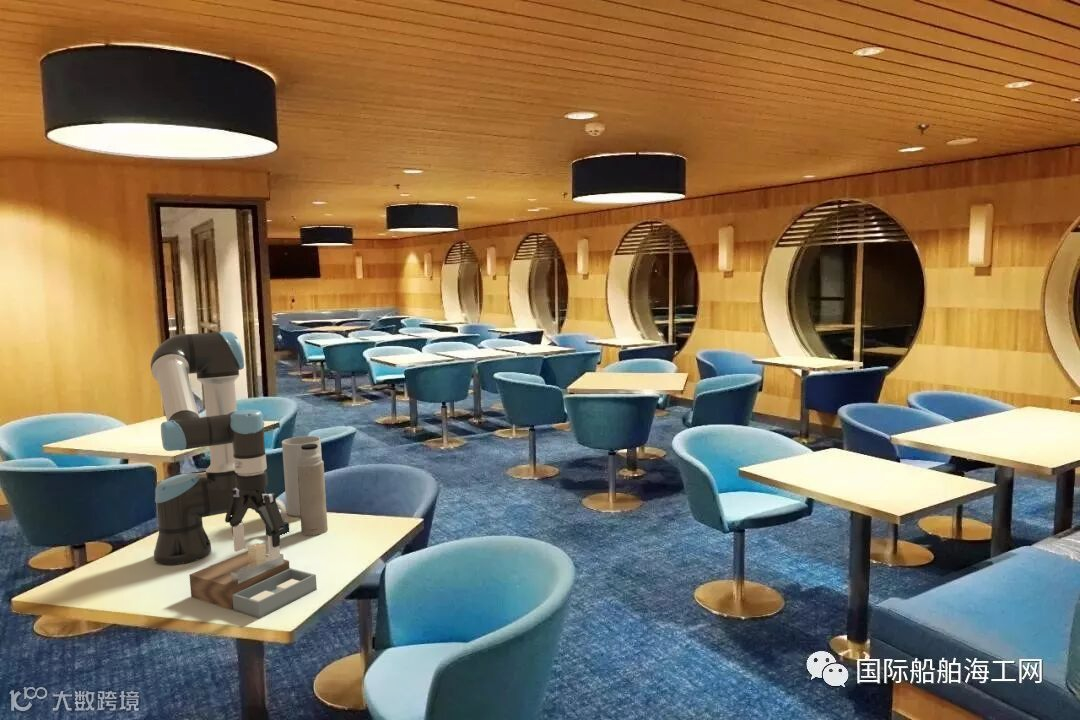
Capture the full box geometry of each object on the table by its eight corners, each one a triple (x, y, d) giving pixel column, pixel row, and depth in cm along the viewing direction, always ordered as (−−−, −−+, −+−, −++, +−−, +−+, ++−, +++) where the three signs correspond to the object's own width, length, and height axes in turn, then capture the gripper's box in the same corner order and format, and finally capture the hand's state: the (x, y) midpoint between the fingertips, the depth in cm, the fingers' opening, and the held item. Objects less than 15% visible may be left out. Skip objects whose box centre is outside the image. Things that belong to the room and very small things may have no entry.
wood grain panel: (191, 597, 189) (189, 574, 189) (250, 571, 205) (248, 550, 204) (232, 610, 181) (230, 586, 181) (290, 582, 197) (289, 560, 196)
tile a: (263, 602, 179) (263, 610, 180) (279, 594, 184) (280, 601, 184) (249, 598, 182) (249, 606, 182) (265, 590, 186) (266, 598, 186)
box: (233, 610, 181) (232, 594, 181) (291, 582, 197) (290, 568, 196) (259, 618, 177) (258, 602, 176) (316, 589, 192) (315, 574, 192)
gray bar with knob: (231, 581, 184) (228, 554, 183) (276, 561, 196) (274, 536, 195) (239, 583, 182) (237, 556, 181) (284, 563, 194) (282, 538, 193)
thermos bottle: (297, 535, 232) (291, 448, 228) (306, 527, 240) (301, 442, 236) (323, 535, 231) (317, 447, 228) (331, 526, 239) (325, 441, 236)
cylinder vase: (313, 518, 248) (308, 445, 245) (279, 516, 251) (274, 444, 248) (331, 506, 260) (327, 436, 257) (298, 504, 263) (294, 435, 260)
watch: (275, 529, 238) (273, 496, 237) (293, 533, 234) (291, 499, 233) (261, 534, 234) (259, 500, 232) (279, 538, 230) (276, 504, 228)
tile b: (289, 590, 186) (290, 597, 186) (305, 582, 190) (305, 589, 190) (276, 586, 189) (276, 593, 189) (291, 578, 193) (292, 586, 193)
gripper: (206, 470, 189) (212, 551, 191) (272, 481, 176) (278, 568, 179) (231, 463, 195) (237, 541, 198) (297, 473, 183) (302, 557, 185)
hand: (257, 554), depth 188 cm, fingers open, 12 cm apart
